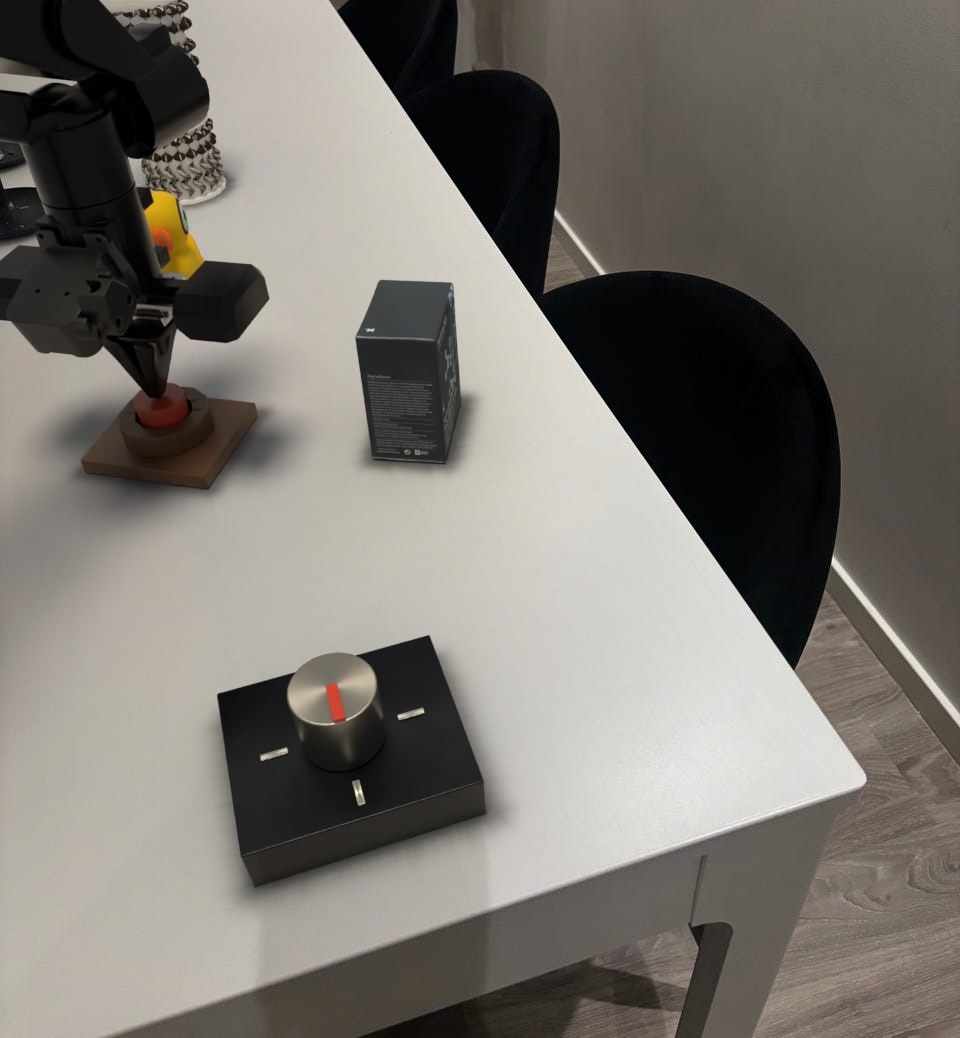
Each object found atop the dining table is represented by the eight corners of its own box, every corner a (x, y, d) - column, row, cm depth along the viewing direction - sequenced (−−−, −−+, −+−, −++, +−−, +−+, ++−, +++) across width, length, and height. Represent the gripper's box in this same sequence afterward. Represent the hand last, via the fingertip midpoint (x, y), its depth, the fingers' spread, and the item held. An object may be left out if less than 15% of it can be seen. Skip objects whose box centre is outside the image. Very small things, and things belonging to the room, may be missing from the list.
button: (131, 427, 71) (124, 408, 70) (154, 399, 73) (148, 379, 72) (175, 433, 70) (169, 413, 69) (197, 404, 73) (191, 384, 71)
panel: (253, 887, 47) (239, 855, 45) (228, 725, 54) (215, 691, 52) (487, 813, 49) (484, 779, 47) (433, 667, 56) (429, 632, 54)
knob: (294, 712, 51) (279, 661, 48) (376, 690, 52) (365, 638, 49) (308, 782, 48) (293, 732, 45) (395, 757, 49) (385, 706, 46)
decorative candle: (152, 214, 103) (73, -51, 86) (141, 181, 109) (66, -72, 92) (236, 197, 105) (176, -66, 88) (221, 165, 111) (162, -85, 94)
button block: (85, 472, 71) (71, 440, 69) (144, 401, 78) (133, 370, 76) (207, 489, 69) (197, 457, 67) (258, 414, 76) (250, 383, 74)
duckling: (214, 319, 86) (185, 214, 80) (153, 329, 86) (118, 224, 79) (209, 260, 95) (183, 160, 88) (154, 269, 94) (123, 169, 87)
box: (447, 464, 70) (435, 339, 63) (371, 460, 71) (351, 336, 64) (463, 400, 76) (454, 278, 68) (393, 397, 76) (376, 276, 69)
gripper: (-127, 239, 56) (-20, 448, 67) (161, 263, 52) (227, 482, 63) (-12, 160, 64) (68, 359, 74) (246, 176, 60) (292, 384, 71)
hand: (157, 395), depth 70 cm, fingers closed
